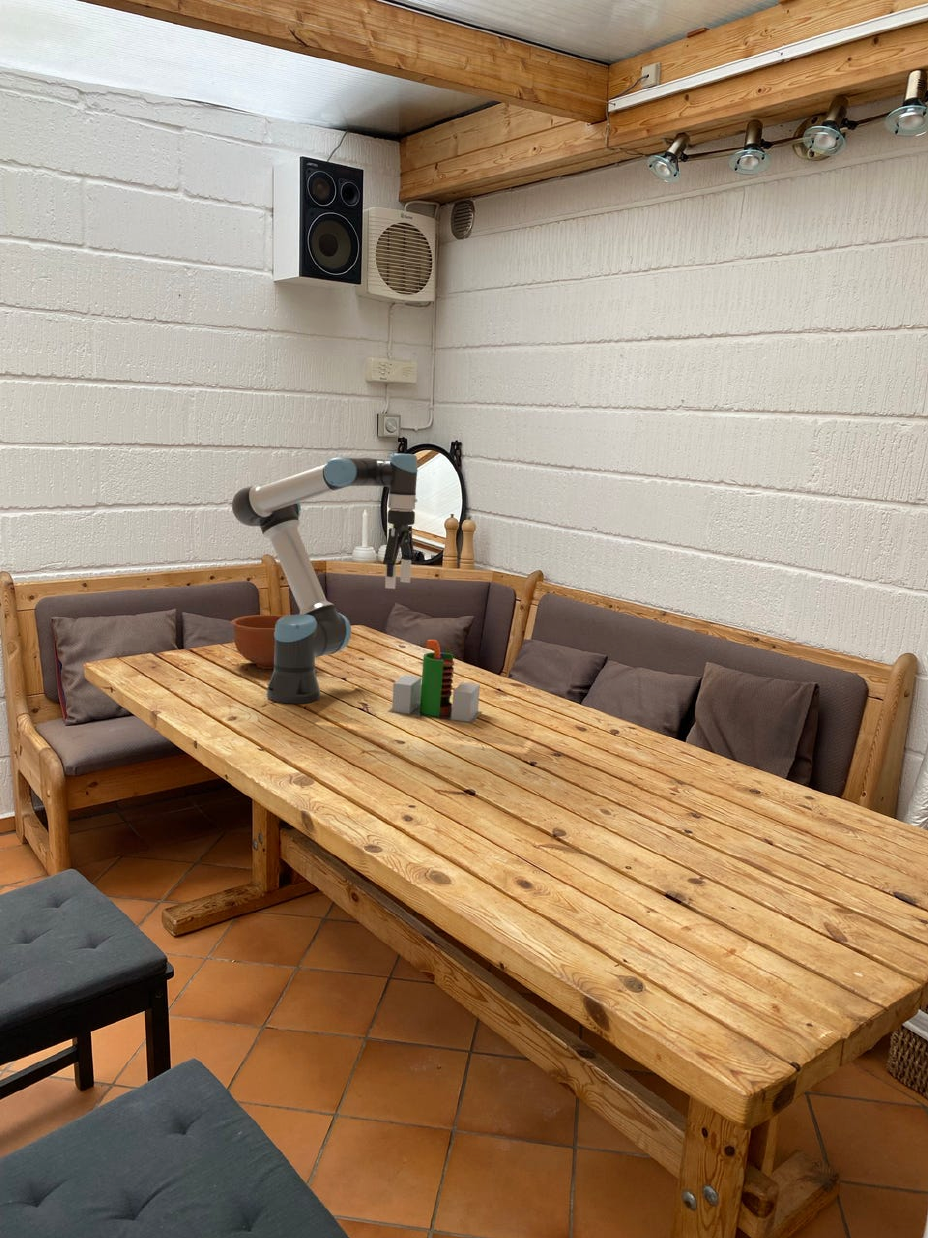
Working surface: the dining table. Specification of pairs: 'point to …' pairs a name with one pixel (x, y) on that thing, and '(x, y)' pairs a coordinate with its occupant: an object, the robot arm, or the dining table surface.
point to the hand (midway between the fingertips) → (397, 585)
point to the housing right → (465, 701)
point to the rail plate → (446, 717)
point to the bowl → (256, 638)
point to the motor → (436, 681)
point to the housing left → (406, 694)
